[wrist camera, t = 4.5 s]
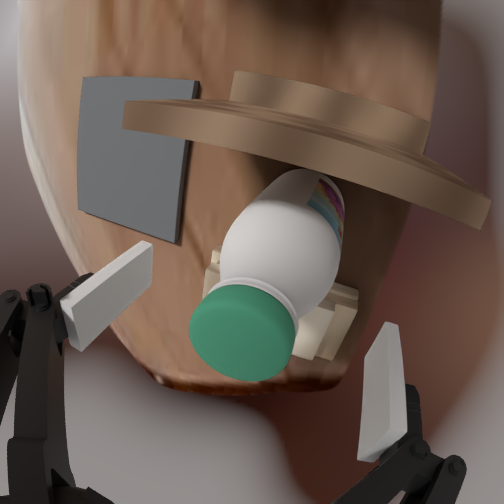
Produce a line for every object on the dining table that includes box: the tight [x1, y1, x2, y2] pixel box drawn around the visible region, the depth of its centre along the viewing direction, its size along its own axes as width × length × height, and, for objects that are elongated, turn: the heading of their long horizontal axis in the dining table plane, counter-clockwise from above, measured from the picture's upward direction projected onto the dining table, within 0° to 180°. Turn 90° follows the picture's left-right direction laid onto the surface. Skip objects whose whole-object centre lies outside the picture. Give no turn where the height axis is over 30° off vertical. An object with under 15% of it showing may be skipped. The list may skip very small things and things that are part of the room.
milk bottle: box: [189, 169, 344, 381], centre depth 21 cm, size 8×8×20 cm
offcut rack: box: [122, 70, 492, 361], centre depth 24 cm, size 18×26×16 cm
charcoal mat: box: [77, 77, 199, 243], centre depth 32 cm, size 16×18×1 cm
